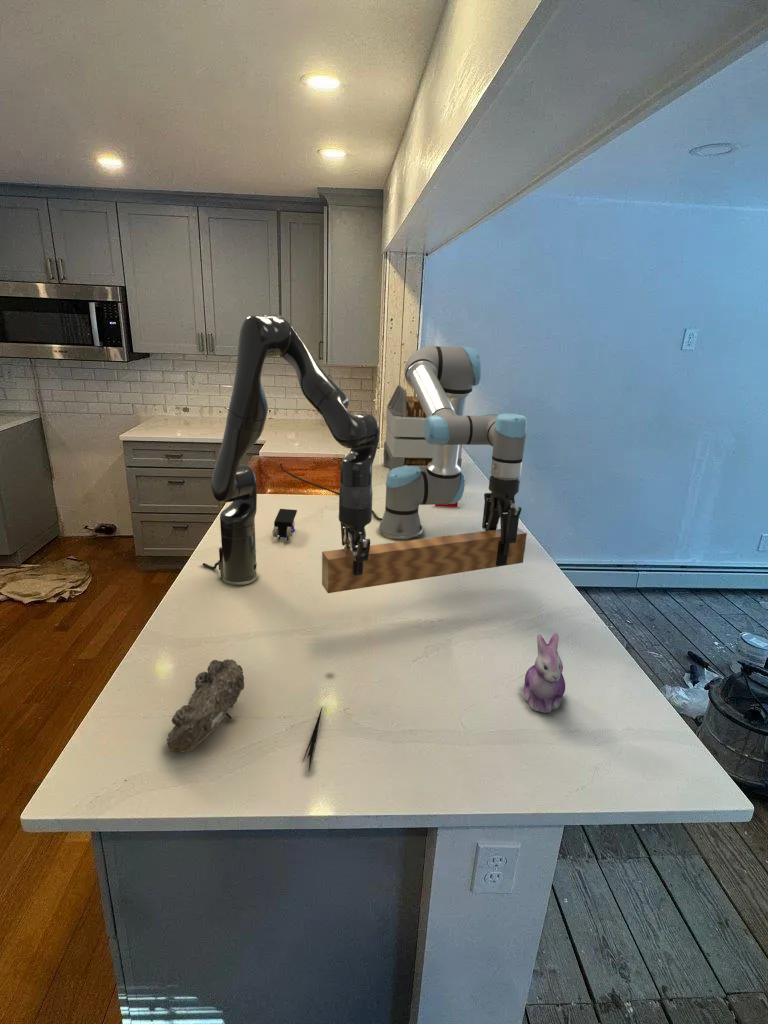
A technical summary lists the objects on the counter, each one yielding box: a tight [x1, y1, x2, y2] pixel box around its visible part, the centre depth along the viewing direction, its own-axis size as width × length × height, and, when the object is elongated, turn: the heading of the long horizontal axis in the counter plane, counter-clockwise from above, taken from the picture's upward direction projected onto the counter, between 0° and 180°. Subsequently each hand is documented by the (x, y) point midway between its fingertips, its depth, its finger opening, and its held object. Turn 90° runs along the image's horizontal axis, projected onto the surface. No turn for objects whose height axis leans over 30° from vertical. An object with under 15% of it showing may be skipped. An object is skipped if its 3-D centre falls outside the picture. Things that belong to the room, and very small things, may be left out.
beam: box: [321, 527, 528, 594], centre depth 142 cm, size 54×5×9 cm, turn 113°
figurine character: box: [272, 508, 298, 542], centre depth 192 cm, size 7×8×15 cm
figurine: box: [523, 632, 566, 714], centre depth 114 cm, size 9×10×15 cm
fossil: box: [166, 658, 245, 754], centre depth 106 cm, size 22×10×15 cm
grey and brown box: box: [383, 384, 463, 471], centre depth 268 cm, size 34×33×41 cm
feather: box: [301, 673, 332, 771], centre depth 108 cm, size 2×28×2 cm
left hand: (354, 569), depth 134 cm, fingers closed on beam, 4 cm apart
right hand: (495, 560), depth 151 cm, fingers closed on beam, 5 cm apart
